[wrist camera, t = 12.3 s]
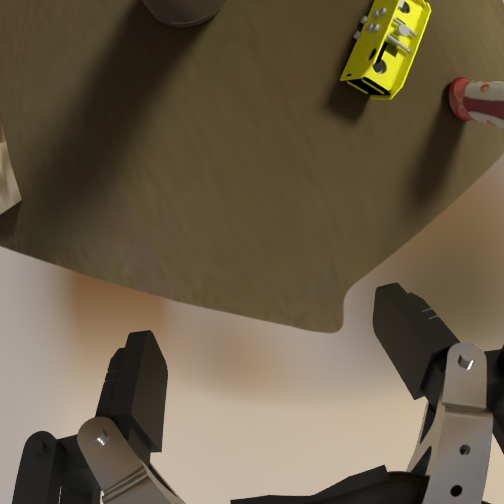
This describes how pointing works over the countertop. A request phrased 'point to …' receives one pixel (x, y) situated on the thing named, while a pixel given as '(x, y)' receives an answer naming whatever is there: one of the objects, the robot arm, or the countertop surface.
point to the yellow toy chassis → (386, 47)
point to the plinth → (7, 177)
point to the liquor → (478, 101)
